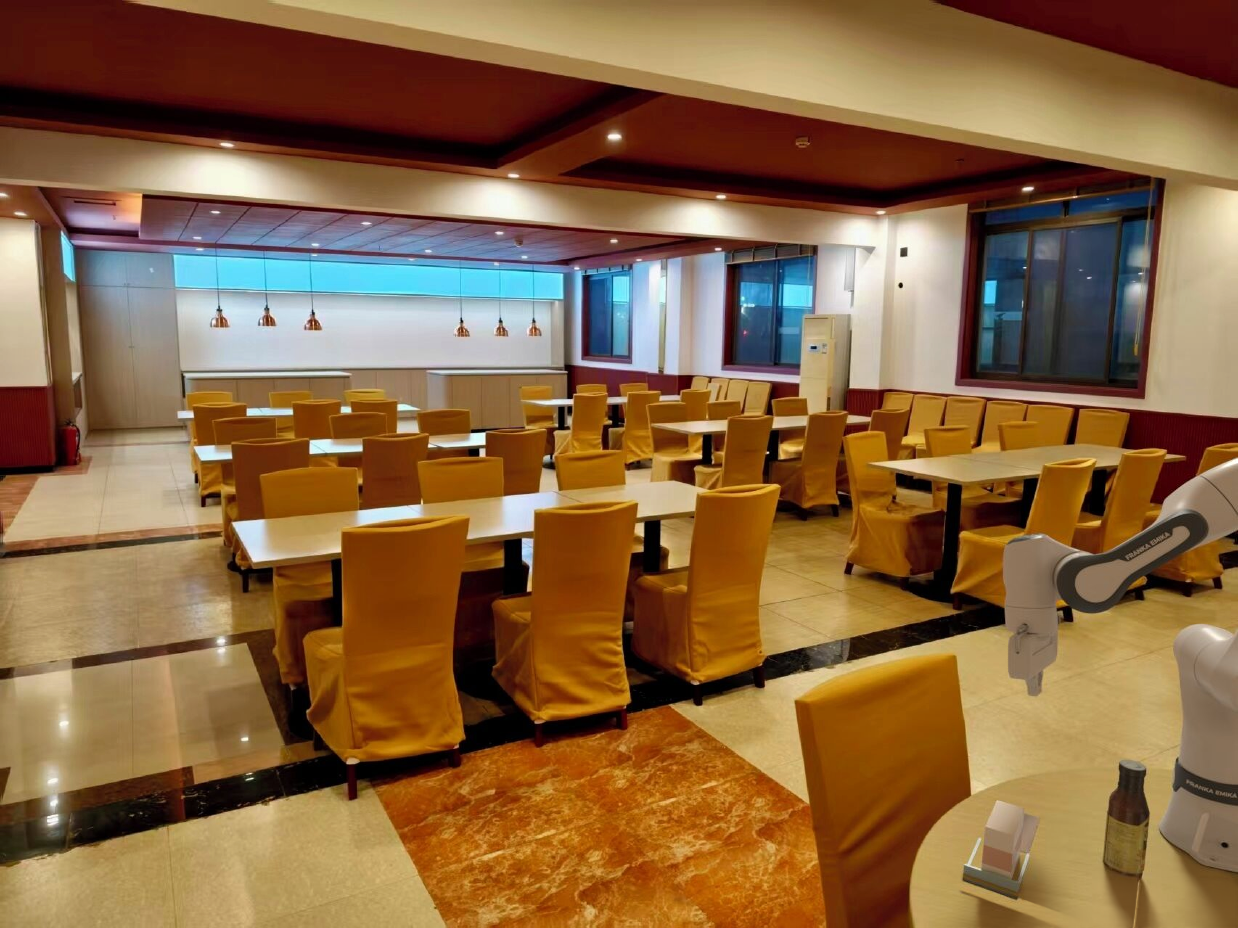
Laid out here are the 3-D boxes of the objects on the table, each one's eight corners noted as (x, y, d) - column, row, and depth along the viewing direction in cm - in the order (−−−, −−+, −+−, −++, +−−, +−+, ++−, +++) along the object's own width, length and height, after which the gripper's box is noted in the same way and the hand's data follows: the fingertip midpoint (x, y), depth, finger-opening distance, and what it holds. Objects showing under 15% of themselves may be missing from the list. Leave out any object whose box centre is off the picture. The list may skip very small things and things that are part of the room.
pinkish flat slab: (1039, 825, 162) (1040, 818, 161) (1027, 861, 151) (1028, 853, 150) (999, 813, 166) (1000, 806, 165) (985, 847, 154) (986, 839, 154)
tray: (1029, 861, 150) (1030, 846, 150) (1016, 900, 140) (1018, 883, 140) (978, 844, 155) (979, 829, 155) (962, 880, 145) (964, 864, 144)
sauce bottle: (1149, 886, 144) (1162, 777, 141) (1108, 881, 145) (1121, 773, 142) (1134, 863, 151) (1147, 758, 147) (1095, 858, 152) (1107, 754, 149)
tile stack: (1019, 860, 150) (1024, 808, 148) (1008, 890, 142) (1014, 835, 140) (992, 851, 152) (996, 799, 151) (980, 880, 144) (985, 826, 143)
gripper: (1034, 630, 150) (1038, 709, 150) (1062, 614, 166) (1066, 685, 166) (996, 627, 154) (1000, 704, 154) (1027, 612, 170) (1031, 682, 170)
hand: (1034, 694), depth 160 cm, fingers closed
